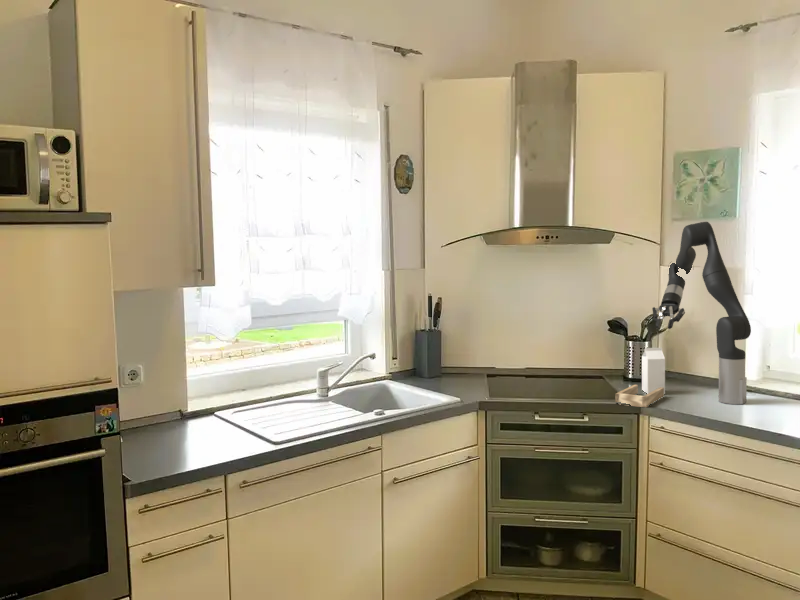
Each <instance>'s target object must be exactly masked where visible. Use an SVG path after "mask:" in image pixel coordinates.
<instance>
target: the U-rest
mask: <svg viewBox="0 0 800 600" xmlns="http://www.w3.org/2000/svg"><path fill="white" fill-rule="evenodd" d="M638 385H639V384H632V385H630V386H629V387H628V386H627V388H625V389H622V390H620V391H618V392H615V393H614V394H615V395H614V397H615V402H621V403H626V404H630V405H631V407H638V408H640V407H641V408H648V407H649V406H648V405H650V404H651V403H653V402H654V401H656V400H658V399H659V398H661V397H663V396H665V395H664V388H663V387H660V388H658V389H656V390H654V391H652V392H650V393H648V394H645V395H639V386H638ZM637 393H638V395H635V394H637ZM658 401H659V400H658ZM653 404H654V403H653ZM650 406H651V405H650Z"/></svg>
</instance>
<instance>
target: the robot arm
mask: <svg viewBox="0 0 800 600" xmlns="http://www.w3.org/2000/svg"><path fill="white" fill-rule="evenodd" d="M703 245H705V246H706V249H707V255H706V260H705V263H704V266H703V269H702V273H701V274H702V275H701V276H702V280H703V282H704V285H705V287H706V290H707V292H708V293H709V294H710V295H711V296H712V297H713V298H714V299H715V300H716V301H717V302H718V303H719V304H720V305H721V306H722V307H723V309H724V310H725V311H726V314H727V316H722V317H720V318H719V319H718V321H717V323H716V327H715V334H716V335H715V336H716V349H717V352H718V402H720V403H723V404H728V405H729V404H730V405H744V404H745V403H746V402H747V384H748V383H747V381H748V380H747V377H746V351H745V350H743V349H740V348H738V347H737V346H736V341H741V340H747V339H748V338H749V337H750V336H751V333H752V326H751V323H750V320H749V318H748V316H747V314H746V313H745V310H744V309H743V307H742V304H741V303H740V301H739V299H738V298H739V297H738V296H737V294H736V291H735V288H734V286H733V284H732V283H733V282H732V281H731V280H732V279H731V278H730V275H729V272H728V269H727V267H726V264H725V263H724V260H723V257H722V255H721V251H720V249H719V245H718V241H717V239H716V234H715V231H714V229H713V227H712V225H711V223H710V222H709V221H700V222H696V223H695V222H694V223H691V224H688V225H685V226H684V227H683V229H682V231H681V239H680V247H679V252H678V255H677V257H676V259H675V260H676V264H675V263H672V264H671V265H670V268H669V274H668V282H667V285H666V288H665V290H664V293H663V296H662V300H661V303H660V305H659V306H658V307H655V306H653V307H652V316H653V320H654V321H655V326H656V328H657V329H661V324H662V321H663V320H665V318H666V317H669V321H668V324H667V328H668V330H671V329H672V328H673V327H674V323H675V322H676V323H680V321H681V319H682V318H683V317H684V315H685V313H686V310H685V309H684V307H682V308H680V306H681V303H682V299H683V294H684V289H685V285H686V281H685V280H686V279H683V278H682V277H680V276H678V275H677V274H676V273H677V272H679V271H678V269H679V268H681V269H684V270H685V271H686V274H688V273H689V272H690V270H691V268H692V265H693V264H694V262H695V260H696V256H697V253H696V250H695V249H694V248H693V247H699V246H703ZM693 266H694V265H693ZM678 267H679V268H678Z"/></svg>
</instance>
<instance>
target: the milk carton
mask: <svg viewBox="0 0 800 600" xmlns="http://www.w3.org/2000/svg"><path fill="white" fill-rule="evenodd" d="M660 387H663V388H664V394H665V395H666V357H665V355H664V352H663V347H645V348H644V351H643V353H642V355H641V391H642V390H643V391H644V392H646V393H647V394H648V393H650V392H652V391H654V390H656V389H658V388H660ZM644 392H643V393H644ZM646 393H645V394H646ZM647 394H646V395H647Z"/></svg>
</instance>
